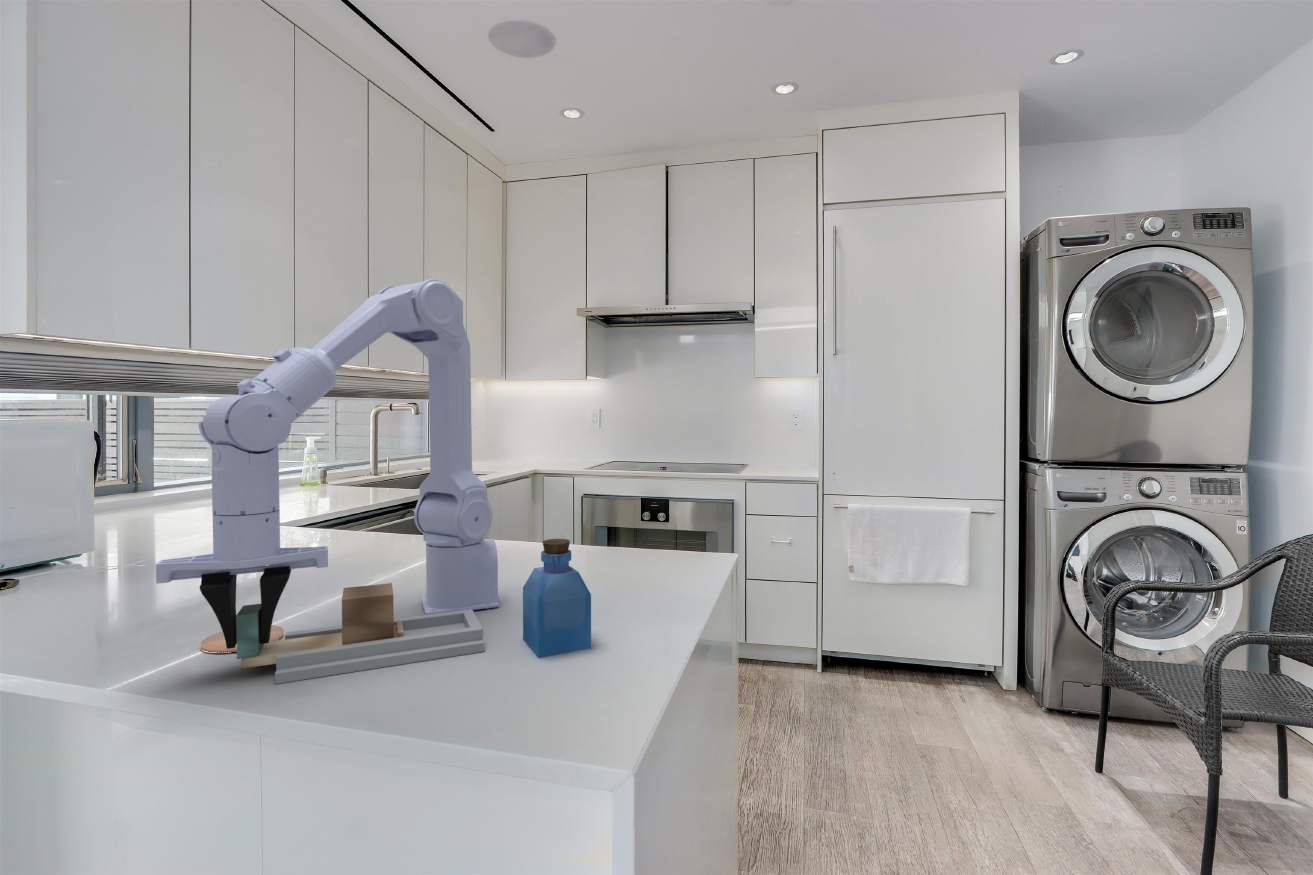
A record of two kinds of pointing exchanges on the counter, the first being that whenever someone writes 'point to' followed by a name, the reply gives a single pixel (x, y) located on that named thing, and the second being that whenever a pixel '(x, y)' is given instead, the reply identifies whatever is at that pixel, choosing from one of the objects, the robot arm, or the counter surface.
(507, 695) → the counter surface
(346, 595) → the walnut block
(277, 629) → the coaster
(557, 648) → the perfume bottle
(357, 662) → the lane board
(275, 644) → the multicoloured piece
